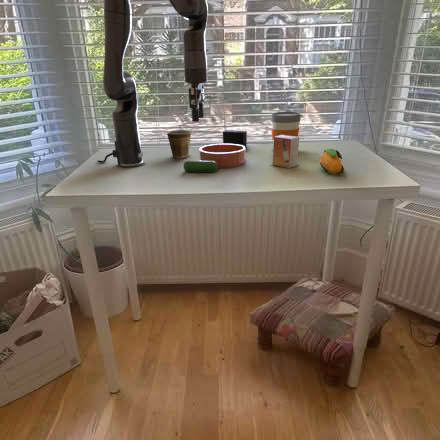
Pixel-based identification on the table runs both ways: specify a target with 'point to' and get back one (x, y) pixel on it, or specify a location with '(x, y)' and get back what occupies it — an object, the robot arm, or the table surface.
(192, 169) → the cucumber
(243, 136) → the digital camera
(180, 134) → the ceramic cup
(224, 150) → the bowl
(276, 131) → the reusable coffee cup
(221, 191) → the table surface
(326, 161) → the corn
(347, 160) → the table surface
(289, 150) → the small box
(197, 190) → the table surface
